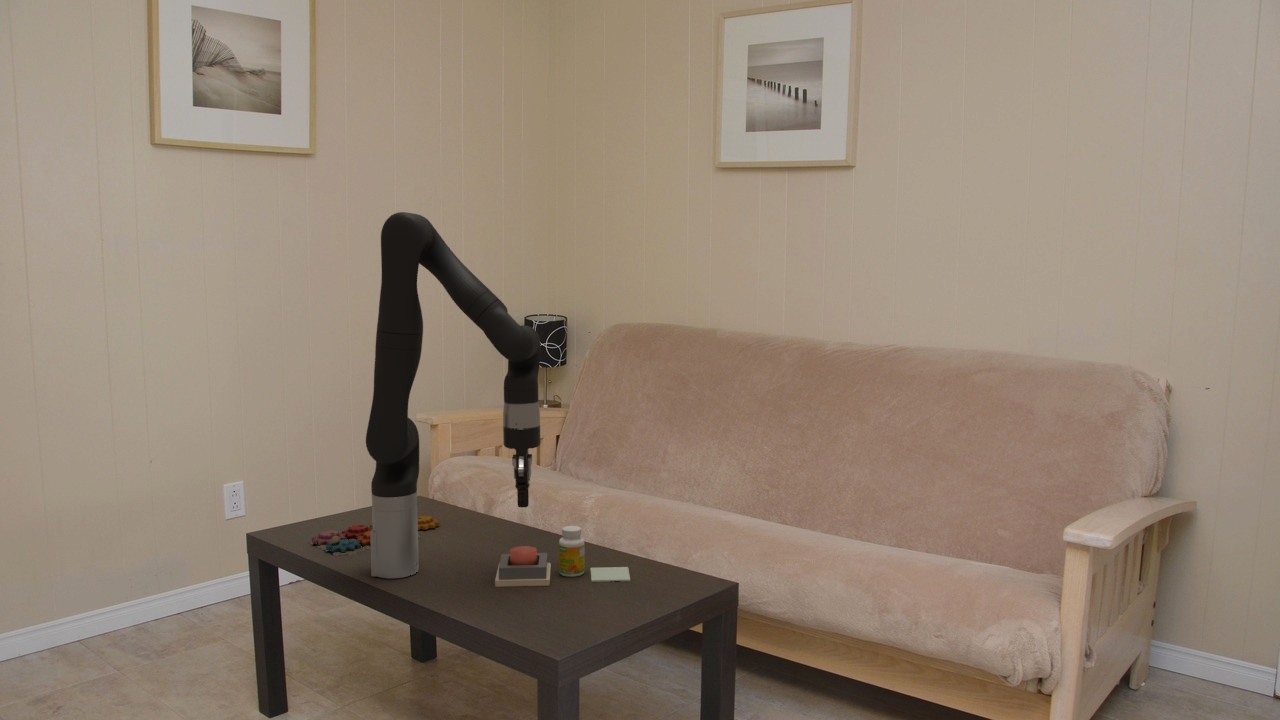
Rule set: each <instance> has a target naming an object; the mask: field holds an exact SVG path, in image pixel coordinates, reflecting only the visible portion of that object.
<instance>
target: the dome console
mask: <svg viewBox="0 0 1280 720" xmlns="http://www.w3.org/2000/svg"><path fill="white" fill-rule="evenodd" d="M551 566H552V563H551V562H548V552H537V565H512V566H510V553H501V556H500V559H499V563H498V567H497V570H496V575H495V579H494V587H495V588H498V587H499V588H500V587H504V588H505V587H538V586H539V587H542V586H544V587H545V586H546V587H547V586H548V587H549V586H550V585H551V573H552V572H551V571H552V569H551V568H552V567H551Z"/></svg>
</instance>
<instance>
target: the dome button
mask: <svg viewBox="0 0 1280 720" xmlns="http://www.w3.org/2000/svg"><path fill="white" fill-rule="evenodd" d="M537 553H538V549H537V547H534V546H529V545H520V546H515V547H511V549H510V550H509V554H510V566H512V565H537Z"/></svg>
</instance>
